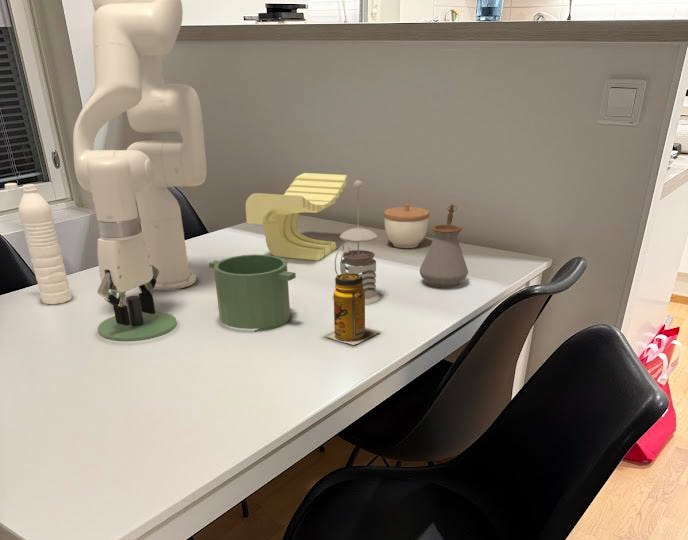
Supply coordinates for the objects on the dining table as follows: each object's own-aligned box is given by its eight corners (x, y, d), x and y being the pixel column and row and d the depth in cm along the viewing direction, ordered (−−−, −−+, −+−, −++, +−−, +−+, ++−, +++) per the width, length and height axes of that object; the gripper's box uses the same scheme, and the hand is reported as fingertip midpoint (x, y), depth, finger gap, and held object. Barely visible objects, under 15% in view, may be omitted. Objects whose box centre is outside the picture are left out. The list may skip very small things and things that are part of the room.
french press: (389, 296, 154) (391, 179, 141) (354, 309, 147) (353, 188, 134) (357, 287, 160) (356, 174, 147) (322, 300, 153) (318, 182, 140)
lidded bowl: (430, 250, 187) (432, 208, 181) (384, 251, 187) (384, 209, 181) (425, 238, 197) (427, 199, 192) (382, 239, 198) (383, 199, 192)
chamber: (275, 338, 134) (271, 281, 128) (196, 322, 142) (188, 267, 136) (313, 315, 145) (311, 261, 139) (237, 301, 153) (232, 249, 147)
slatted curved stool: (297, 236, 202) (294, 172, 192) (347, 240, 197) (346, 175, 187) (250, 263, 178) (244, 192, 169) (305, 269, 173) (302, 195, 164)
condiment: (325, 337, 134) (323, 277, 128) (352, 325, 139) (352, 267, 133) (353, 346, 130) (353, 284, 124) (380, 333, 135) (381, 273, 129)
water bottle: (77, 296, 158) (51, 181, 144) (62, 305, 152) (33, 187, 139) (43, 294, 159) (14, 181, 146) (27, 303, 154) (-5, 186, 141)
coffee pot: (465, 291, 157) (471, 224, 149) (416, 289, 159) (418, 222, 151) (471, 265, 174) (476, 204, 166) (426, 263, 176) (429, 203, 168)
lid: (140, 349, 130) (133, 315, 127) (82, 335, 137) (74, 303, 133) (192, 323, 142) (188, 291, 138) (136, 311, 148) (131, 281, 145)
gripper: (137, 216, 136) (151, 303, 146) (70, 236, 124) (90, 329, 133) (165, 220, 133) (178, 308, 143) (99, 240, 120) (119, 335, 130)
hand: (136, 317), depth 138 cm, fingers open, 6 cm apart
